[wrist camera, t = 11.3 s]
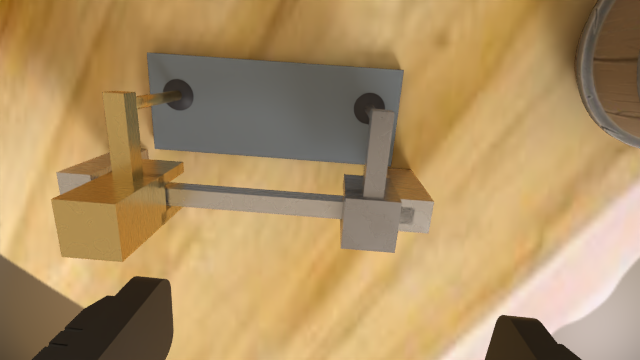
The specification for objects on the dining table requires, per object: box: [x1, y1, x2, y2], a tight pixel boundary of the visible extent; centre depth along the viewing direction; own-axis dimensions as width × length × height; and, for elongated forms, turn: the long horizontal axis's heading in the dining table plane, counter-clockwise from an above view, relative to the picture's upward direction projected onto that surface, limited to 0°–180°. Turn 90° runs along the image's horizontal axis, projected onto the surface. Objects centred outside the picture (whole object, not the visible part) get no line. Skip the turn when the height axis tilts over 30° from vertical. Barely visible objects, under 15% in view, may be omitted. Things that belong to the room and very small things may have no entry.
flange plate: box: [147, 53, 404, 167], centre depth 37 cm, size 10×26×1 cm, turn 86°
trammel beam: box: [56, 104, 434, 253], centre depth 33 cm, size 11×33×12 cm, turn 86°
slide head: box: [51, 90, 184, 262], centre depth 30 cm, size 11×4×15 cm, turn 176°
